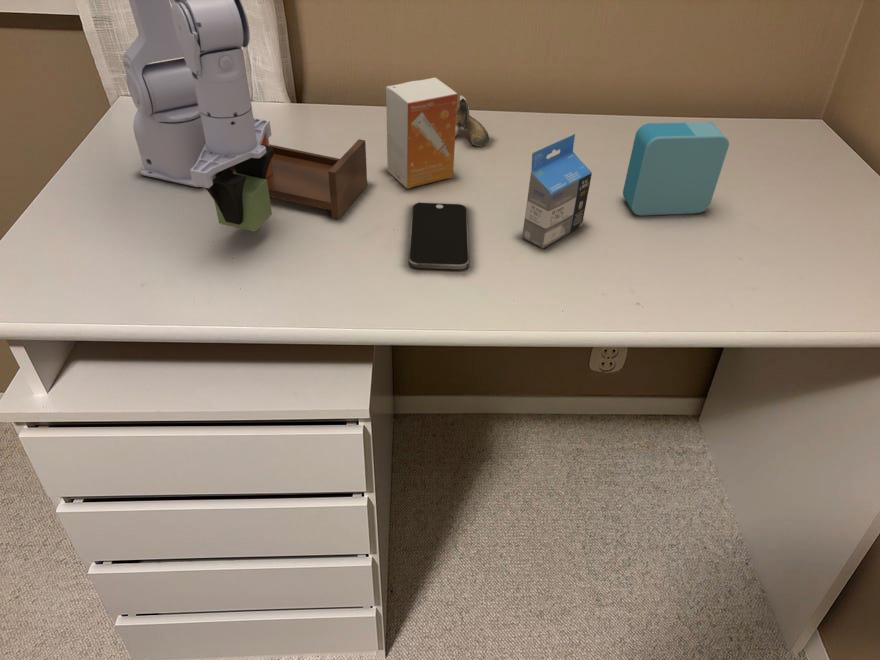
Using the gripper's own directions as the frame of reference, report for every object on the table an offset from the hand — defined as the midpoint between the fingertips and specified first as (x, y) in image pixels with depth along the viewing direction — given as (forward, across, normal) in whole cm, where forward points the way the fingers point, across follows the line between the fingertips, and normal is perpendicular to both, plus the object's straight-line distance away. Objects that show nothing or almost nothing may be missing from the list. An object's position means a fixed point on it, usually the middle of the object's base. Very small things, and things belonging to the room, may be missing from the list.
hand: (244, 212), depth 91 cm
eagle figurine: (+4, +39, -17) cm, 43 cm away
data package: (+4, +29, -51) cm, 59 cm away
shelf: (+4, +13, 0) cm, 13 cm away
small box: (+4, +24, -15) cm, 29 cm away
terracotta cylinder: (+1, +12, +4) cm, 12 cm away
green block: (+1, 0, 0) cm, 1 cm away
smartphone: (+4, +9, -23) cm, 25 cm away
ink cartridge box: (+4, +16, -37) cm, 40 cm away
